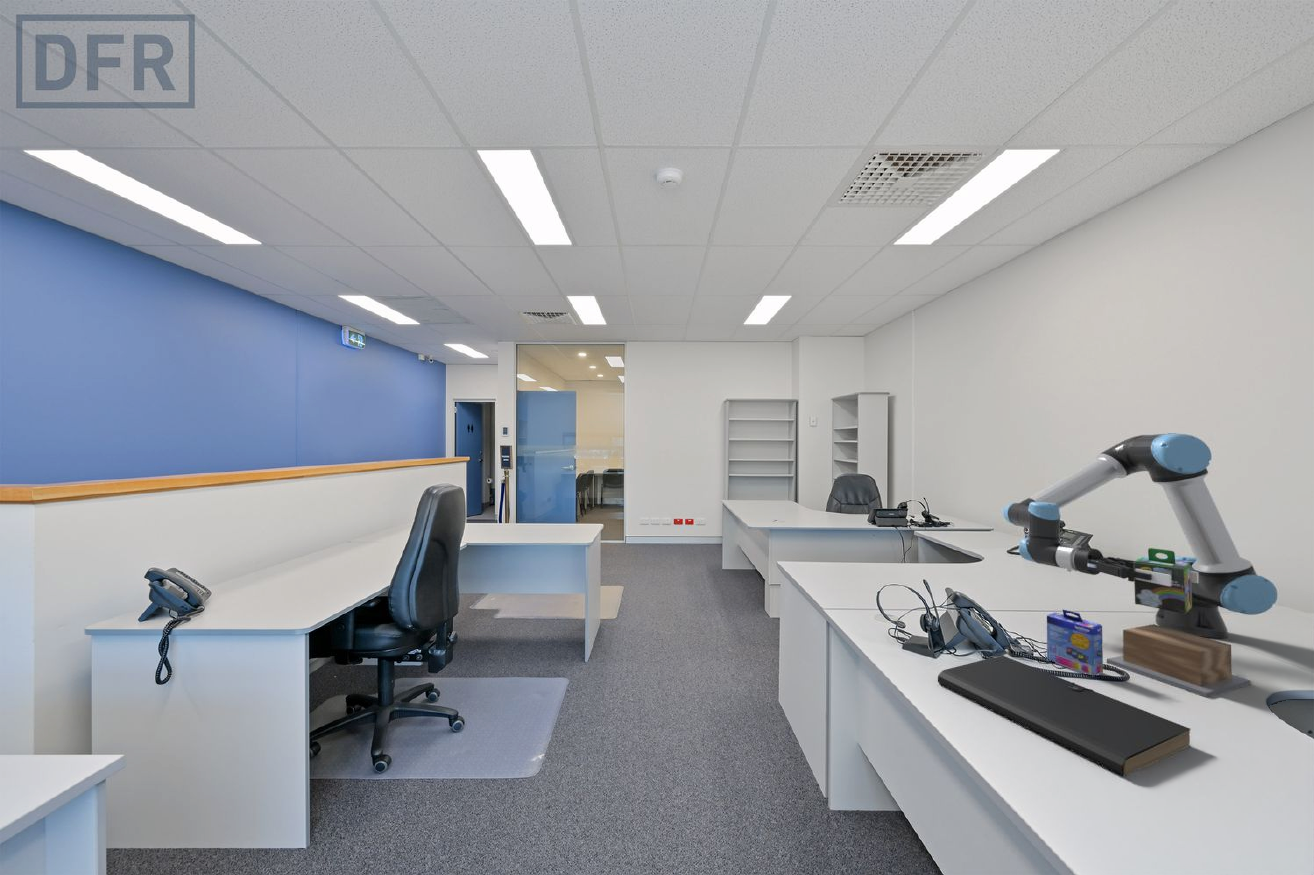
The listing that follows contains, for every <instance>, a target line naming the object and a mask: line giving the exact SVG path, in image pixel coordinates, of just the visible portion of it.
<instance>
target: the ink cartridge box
mask: <svg viewBox="0 0 1314 875" xmlns="http://www.w3.org/2000/svg"><path fill="white" fill-rule="evenodd" d="M1061 610H1062V613H1061V612H1060V613H1059V612H1053V613H1050V614H1046V660H1047V659H1049V660H1053V661H1054V662H1055V663H1054V664H1056V665H1058V666H1062V667H1065V668H1066V669H1069V670H1073V671H1075V672H1079V673H1081V672H1082V673H1081V674H1084V673H1086V674H1090V675H1096V676H1098V675H1097V674H1099V675H1101V674H1103V673H1104V664H1103V663H1104V662H1103V659H1104V658H1103V655H1104V654H1103V648H1104V647H1103V625H1102V624H1100V623H1097V622H1094V621H1090V620H1086V619H1083V618H1082V616H1081V614H1080V612H1076V611H1071V610H1067V609H1061ZM1069 614H1071V615H1069ZM1086 674H1085V675H1086Z"/></svg>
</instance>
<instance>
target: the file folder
mask: <svg viewBox="0 0 1314 875" xmlns="http://www.w3.org/2000/svg"><path fill="white" fill-rule="evenodd" d="M937 682H938V684H939V685H941V686H943V687H945V688H946V689H949V690H951V691H953V692H955V693H956V694H958V695H960V696H962V697H965V698H966V699H969V700H971V701H973V702H974V703H977V704H979V705H980V706H983V708H987V709H989V710H990V711H993V712H995V713H997V714H998V715H1001V716H1003V717H1005V718H1006V719H1009V720H1011V721H1013V723H1016V724H1018V725H1020V726H1022V727H1024V728H1026V729H1029V730H1030V731H1032V732H1034V733H1036V734H1039V735H1040V736H1042V737H1044V738H1046V739H1048V740H1050V741H1052V742H1054V743H1056V744H1057V745H1058V744H1059V745H1060V746H1062V747H1064V748H1066V749H1068V750H1070V751H1072V752H1074V753H1076V754H1078V755H1080V756H1082V757H1084V758H1086V759H1088V760H1090V761H1092V762H1094V763H1096V764H1097V765H1100V766H1102V767H1103V768H1106V769H1107V770H1110V771H1111V772H1112V773H1113V772H1114V773H1115V774H1117V775H1119V776H1122V777H1125V776H1126V775H1129V774H1132V773H1134V772H1136V771H1138V770H1141V769H1144V768H1146V767H1147V766H1150V765H1152V764H1154V763H1156V762H1159V761H1161V760H1162V759H1165V758H1167V757H1170V756H1171V755H1174V754H1176V753H1178V752H1180V751H1182V750H1184V749H1187V748H1189V747H1191V736H1190V735H1191V730H1192V729H1191V728H1189V727H1187V726H1184V725H1183V724H1182V725H1181V724H1179V723H1176V722H1174V721H1172V720H1169V719H1167V718H1164V717H1161V716H1159V715H1156V714H1154V713H1151V712H1148V711H1146V710H1143V709H1141V708H1138V707H1136V706H1133V705H1131V704H1127V703H1126V702H1123V701H1120V700H1118V699H1115V698H1113V697H1110V696H1107V695H1105V694H1102V693H1100V692H1098V691H1095V690H1094V689H1091V688H1088V687H1085V686H1082V685H1079V684H1077V683H1075V682H1073V681H1069V680H1066V679H1064V678H1061V677H1059V676H1058V675H1057V676H1056V675H1053V674H1051V673H1050V672H1049V673H1048V672H1046V671H1043V670H1041V669H1038V668H1036V667H1034V666H1031V665H1027V664H1026V663H1023V662H1020V661H1018V660H1015V659H1012V658H1010V657H1008V656H1005V655H1001V656H996V657H990V658H989V657H988V658H986V659H982V660H978V661H974V662H970V663H967V664H966V663H965V664H962V665H959V666H954V667H950V668H947V669H943V670H941V672H939V674H938V675H937Z"/></svg>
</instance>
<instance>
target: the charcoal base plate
mask: <svg viewBox="0 0 1314 875" xmlns="http://www.w3.org/2000/svg"><path fill="white" fill-rule="evenodd" d="M1106 663H1107V664H1110V665H1113V666H1116V667H1118V668H1122V669H1124V670H1127V671H1130V672H1133V673H1135V674H1138V675H1141V676H1144V677H1147V678H1150V679H1152V680H1156V681H1158V682H1162V683H1164V684H1166V685H1170V686H1173V687H1176V688H1178V689H1181V690H1184V691H1187V692H1190V693H1192V694H1195V695H1198V696H1201V697H1204V698H1209V697H1212V696H1214V695H1218V694H1222V693H1225V692H1229V691H1233V690H1235V689H1240V688H1242V687H1246V686H1250V685H1251V684H1252V683H1251V681H1252V680H1251V679H1248V678H1244V677H1242V676H1238V675H1235V674H1232V678H1230V679H1226V680H1223V681H1219V682H1216V683H1212V684H1208V685H1205V686H1201V687H1200V686H1197V685H1194V684H1191V683H1188V682H1185V681H1182V680H1179V679H1176V678H1173V677H1170V676H1167V675H1164V674H1161V673H1159V672H1156V671H1153V670H1150V669H1147V668H1144V667H1141V666H1138V665H1135V664H1132V663H1129V662H1126V661H1123V655H1118V656H1115V657H1109V658H1106Z"/></svg>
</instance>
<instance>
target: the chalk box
mask: <svg viewBox="0 0 1314 875" xmlns="http://www.w3.org/2000/svg"><path fill="white" fill-rule="evenodd" d="M1157 554H1164V555H1166V556H1168V558H1166V559H1164V558H1160V557H1158V556H1157ZM1147 555H1148V557H1144V556H1143V557H1139V558H1137V559H1136V560H1134V561H1135V562H1134V571H1135V569H1142V570H1147V571H1152V572H1157V573H1162V574H1168V575H1171V584H1172V586H1165V585H1161V584H1156V583H1151V582H1146V581H1141V580H1137V579H1136V578H1135V577H1134V582H1133V583H1134V584H1133V585H1134V604H1135V605H1140V606H1144V607H1145V606H1146V607H1151V608H1155V609H1158V610H1159V609H1163V610H1168V611H1173V612H1177V613H1182V614H1186V613H1187V612H1188V611H1189V610H1190V609H1191V608H1192V589H1191V569H1190V563H1185V562H1177V561H1175V556H1176V553H1175V551H1174V550H1169V549H1163V548H1161V549H1160V548H1155V547H1154V548H1153V547H1149V548H1148V550H1147Z"/></svg>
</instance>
